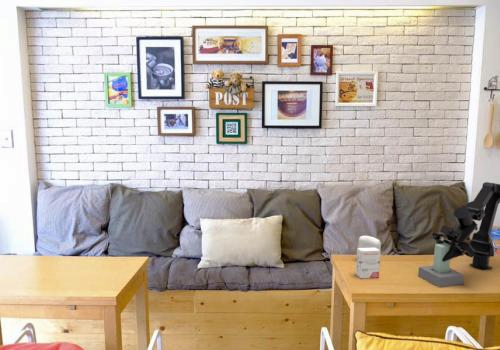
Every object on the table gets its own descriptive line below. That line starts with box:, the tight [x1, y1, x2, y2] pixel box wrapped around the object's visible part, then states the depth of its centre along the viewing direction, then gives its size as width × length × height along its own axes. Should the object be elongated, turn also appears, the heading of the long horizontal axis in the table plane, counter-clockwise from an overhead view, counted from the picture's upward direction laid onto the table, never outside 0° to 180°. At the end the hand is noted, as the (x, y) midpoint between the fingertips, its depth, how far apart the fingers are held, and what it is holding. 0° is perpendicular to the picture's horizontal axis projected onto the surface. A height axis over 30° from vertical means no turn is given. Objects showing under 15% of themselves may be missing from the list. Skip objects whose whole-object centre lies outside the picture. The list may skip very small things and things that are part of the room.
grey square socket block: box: [417, 264, 465, 288], centre depth 169 cm, size 12×12×4 cm
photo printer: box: [357, 235, 382, 251], centre depth 187 cm, size 10×4×12 cm, turn 45°
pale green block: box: [432, 243, 451, 274], centre depth 168 cm, size 5×4×13 cm
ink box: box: [355, 247, 381, 279], centre depth 171 cm, size 9×5×12 cm, turn 98°
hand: (439, 259), depth 167 cm, fingers closed on pale green block, 3 cm apart
